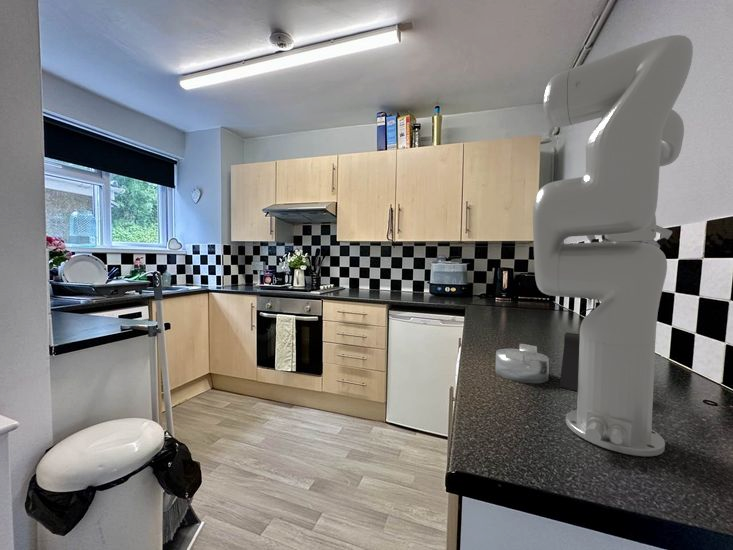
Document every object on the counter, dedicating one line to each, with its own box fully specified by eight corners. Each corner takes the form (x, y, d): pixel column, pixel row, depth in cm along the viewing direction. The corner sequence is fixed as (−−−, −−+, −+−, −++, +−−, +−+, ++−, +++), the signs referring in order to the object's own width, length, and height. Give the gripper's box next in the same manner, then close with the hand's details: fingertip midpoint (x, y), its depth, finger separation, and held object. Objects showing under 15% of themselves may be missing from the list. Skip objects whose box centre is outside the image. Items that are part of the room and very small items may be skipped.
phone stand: (591, 395, 66) (593, 340, 65) (559, 387, 70) (561, 335, 69) (598, 384, 72) (600, 334, 72) (568, 377, 76) (570, 330, 76)
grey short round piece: (540, 387, 69) (541, 358, 69) (487, 373, 78) (488, 348, 78) (553, 374, 78) (554, 349, 78) (505, 363, 86) (506, 340, 86)
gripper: (592, 197, 78) (589, 263, 79) (681, 192, 72) (677, 264, 72) (584, 203, 85) (582, 264, 86) (665, 198, 78) (662, 265, 79)
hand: (625, 264), depth 79 cm, fingers open, 9 cm apart
